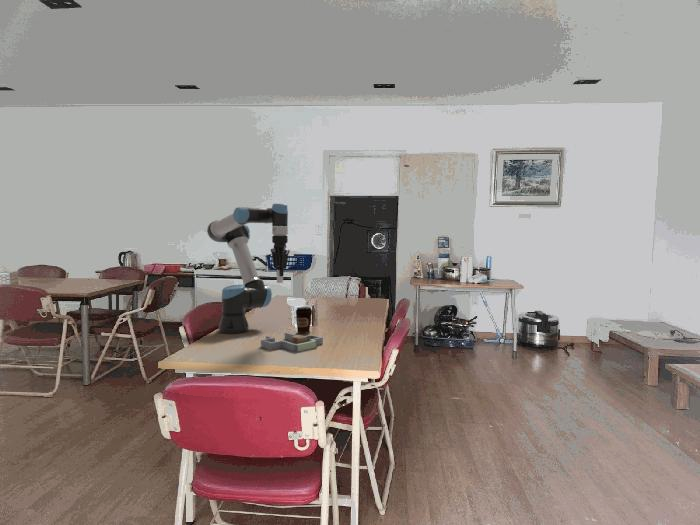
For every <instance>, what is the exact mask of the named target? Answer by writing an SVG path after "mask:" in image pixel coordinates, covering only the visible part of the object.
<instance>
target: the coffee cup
mask: <svg viewBox="0 0 700 525" xmlns="http://www.w3.org/2000/svg"><path fill="white" fill-rule="evenodd" d="M312 314H313V309H312V307H311V306H310V307H309V306H301V307H297V308H296V310H295V316H296V317H295V318H296V329H297V333H298V334H301V335H303V334H304V335H305V334H310V333H311V331H310V329H311V325H312Z"/></svg>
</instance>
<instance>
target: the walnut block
mask: <svg viewBox="0 0 700 525" xmlns="http://www.w3.org/2000/svg"><path fill="white" fill-rule="evenodd" d="M296 335H297V336H292V337H291V340H290V343H293V344H301V343H305V342H307V337H306V336H307V335H303V334H296Z"/></svg>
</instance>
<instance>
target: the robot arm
mask: <svg viewBox="0 0 700 525" xmlns="http://www.w3.org/2000/svg"><path fill="white" fill-rule="evenodd" d="M288 217H289V211H288V204H286V203H272V206H271V207H247V206H246V207H245V206H238V207H235V208H234V210H233V213H232V214H229V215H228V216H225V217H224V218H222V219H217V220H214V221H212V222H210V223H209V224H208V226H207V229H206V230H207V235H208V237H209V238H210V240H212V241H214V242H217V243H227V246H228V248H229V249H232V252H233V256H234V258H235V262H236V264H237V266H238V270H239V273H240V276H241V279H242V282H243V284H231V285H227V286H225V287H224V288H222V290H221V319H220V321H219V325H218V332H219V333H221V334H241V333H242V334H243V333H247V332H248V331H249V329H250V327H249V322H248V320H247V316H246V310H249V309H250V310H251V309H261V308H265V307H267V306H269V305H270V304H271V301H272V294H273V293H272V289H271V287H270V286H269V285H267V284H265V283H264V280H263V279H260V276H259V274H258V271H257V268H256V265H255V263H254V260H253V258H252V254H251V251H250V249H249V246H248V243H249V240H250V239H251V238H250V237H251V234H250V233H251V232H250V228H249V226H248V224H271V226H272V227H271V228H272V232H271V233H272V234H271V235H272V236H271V238H272V239H271V242H272V244H273V248H270V252H271V257H272V259H271V260H272V266H273V268H274V269H275V270H276V283H277V284H283V283H284V270H285V269H287V266H288V258H289V254H290V249H288V248H287V243H288V234H289V233H288V231H289V230H288V228H289V227H288V225H289V224H288V223H289V222H288Z"/></svg>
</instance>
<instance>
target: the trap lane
mask: <svg viewBox="0 0 700 525" xmlns="http://www.w3.org/2000/svg"><path fill="white" fill-rule="evenodd" d="M297 335H298V334H294V333H289V332H287V331H285V332H284V339H285V340H278V341H276V338H275V337H272V336H269V335H266V336H265V339H260V347H261V348H264V349H267V350H270V351H273V350H277V349H286V350H288V351H291V352H295V353H297V352H302V351H306V350H311V349H315V348H318V346H319V345H320V346H321V345H323V344H324V338H323V337H322V336H318V335H314V334H307V335H305V336H306V337H307V342H305V343H301V344H293V343H291V337H292V336H297ZM286 340H289V341H286Z"/></svg>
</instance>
